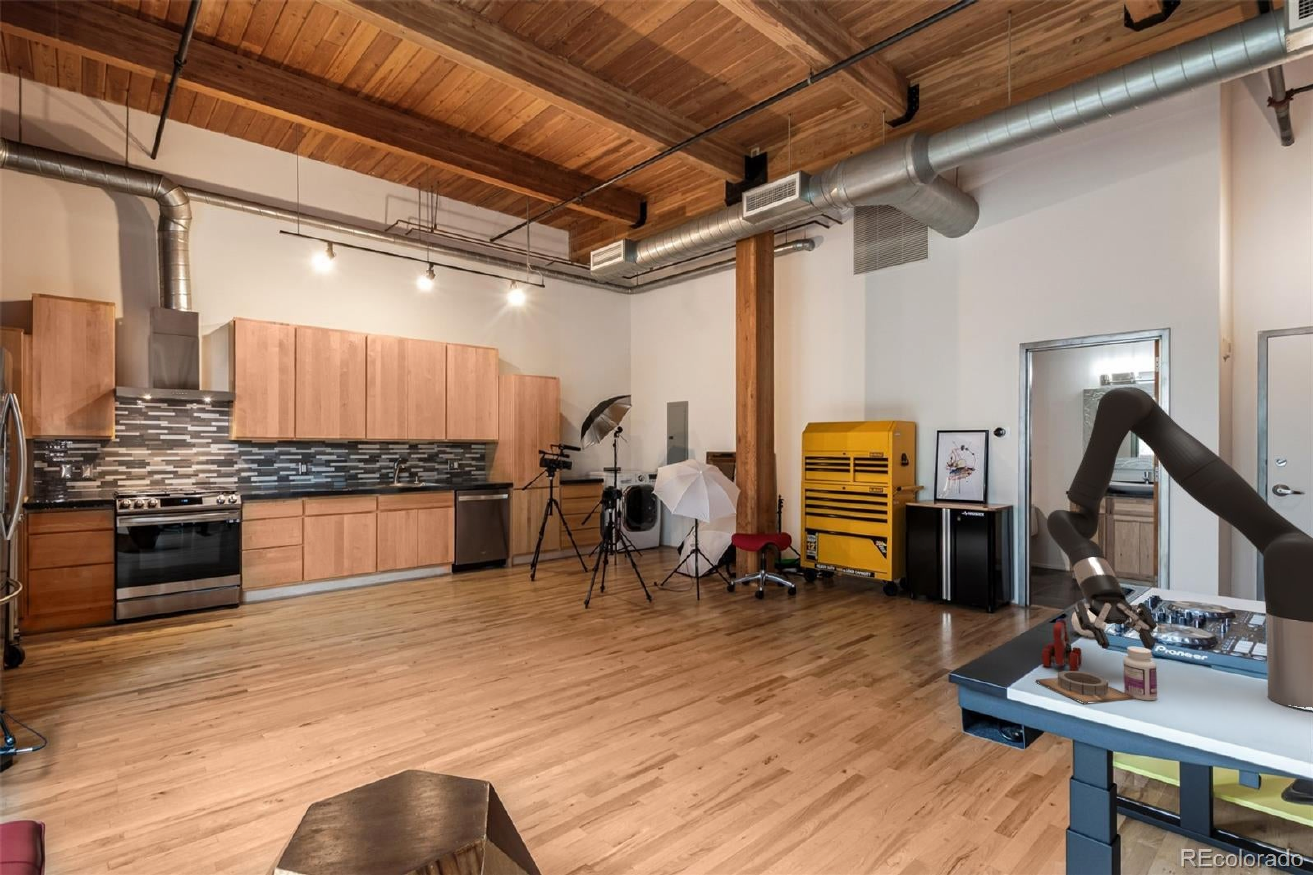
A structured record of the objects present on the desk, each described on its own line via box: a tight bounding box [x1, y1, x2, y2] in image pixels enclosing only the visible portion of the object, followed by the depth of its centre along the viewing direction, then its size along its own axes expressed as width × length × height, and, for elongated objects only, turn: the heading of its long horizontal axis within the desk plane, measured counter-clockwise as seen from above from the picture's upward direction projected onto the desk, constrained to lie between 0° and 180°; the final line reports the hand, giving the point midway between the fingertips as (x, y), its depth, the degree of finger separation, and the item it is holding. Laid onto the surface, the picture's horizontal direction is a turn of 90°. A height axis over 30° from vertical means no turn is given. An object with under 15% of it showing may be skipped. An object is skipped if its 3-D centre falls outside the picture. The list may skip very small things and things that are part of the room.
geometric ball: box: [1071, 610, 1107, 639], centre depth 169 cm, size 8×8×8 cm
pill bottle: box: [1122, 645, 1158, 701], centre depth 129 cm, size 5×5×10 cm
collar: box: [1035, 670, 1134, 703], centre depth 132 cm, size 12×12×3 cm
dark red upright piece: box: [1041, 618, 1083, 671], centre depth 147 cm, size 7×12×10 cm, turn 140°
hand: (1128, 647), depth 132 cm, fingers open, 8 cm apart
